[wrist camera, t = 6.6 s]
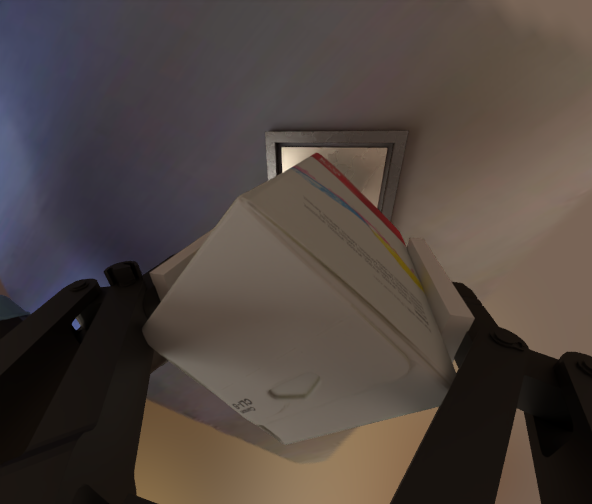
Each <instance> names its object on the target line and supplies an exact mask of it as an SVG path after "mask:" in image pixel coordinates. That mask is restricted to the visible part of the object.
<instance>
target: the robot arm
mask: <svg viewBox="0 0 592 504" xmlns="http://www.w3.org/2000/svg"><path fill="white" fill-rule="evenodd" d="M213 229H214V228H213ZM213 229H212V230H210V231H209V232H208V233H206V234H205V235H203V236H202V237H200V238H199V239H197V240H196V241H195V242H193V243H192V244H190V245H189V246H187V247H186V248H184V249H183V250H182V251H180V252H179V253H177V254H174V255H172V256H170V257H169V258H167V259H166V260H165V261H163V262H161V263H160V264H159V265H157V266H156V267H154V268H153V269H151V270H150V271H148V272H147V273H145V274H144V275H142V274H141V271H140V269H139V266H138V264H137V263H136V262H135V261H125V262H120V263H117V264H114V265H112V266H110V267H108V268H106V269H105V270H104V273H105V276H106V278H107V280H108V282H109V284H110V286H109V287H100V286H99V284H98V282H97V280H95V279H82V280H79V281H75V282H73V283H72V284H70V285H68V286H66V287H65V288H63V289H62V290H61V291H59V292H58V293H57V294H56V295H55V296H53V297H52V298H51V299H50V300H48V301H47V302H46V303H45V304H43V305H42V306H41V307H40V308H38V309H37V310H36V311H35V312H34V313H32V314H30V312H26V311H25V310H23V309H22V308H21V307H20V306H18V305H17V304H16V303H15V302H13V301H12V300H11V299H10V298H8V297H6V296H3V295H0V504H157V503H154V502H151V501H149V500H146V499H143V498H141V497H138V496H136V486H135V480H134V469H135V462H136V456H137V450H138V444H139V438H140V432H141V426H142V420H143V414H144V408H145V402H146V396H147V390H148V384H149V378H150V374H151V373H152V372H153V371H155V370H156V369H157V368H158V367H160V366H162V365H164V364H165V363H167V362H168V360H167V359H166V358H165V357H163V356H161V355H160V354H159V353H158V352H157V351H156V350H154V349H153V348H152V347H151V346H149V345H148V343H147V341H146V339H145V337H144V335H143V332H142V328H143V326H144V325H145V323H146V322H147V320H148V319H149V318H150V316H151V315H152V313H153V312H154V311H155V309H156V308H157V307H158V305H159V304H160V302H161V301H162V300H163V298H164V297H165V295H166V294H167V293H168V291H169V290H170V288H171V287H172V286H173V284H174V283H175V281H176V280H177V279H178V277H179V276H180V274H181V273H182V272H183V270H184V269H185V268H186V266H187V265H188V264H189V262H190V261H191V259H192V258H193V257H194V255H195V254H196V253H197V251H198V250H199V249H200V247H201V246H202V244H203V243H204V242H205V240H206V239H207V237H208V236H209V235H210V233H211V232H212V231H213ZM407 250H408V252H409V255H410V257H411V259H412V262H413V264H414V267H415V269H416V272H417V274H418V277H419V280H420V282H421V284H422V287H423V289H424V292H425V294H426V297H427V300H428V303H429V305H430V307H431V310H432V313H433V315H434V317H435V320H436V322H437V325H438V328H439V331H440V333H441V336H442V338H443V340H444V343H445V345H446V348H447V351H448V353H449V356H450V358H451V360H452V363H453V360H454V359H455V361H456V363H457V366H458V368H459V369H458V371H457V373H456V376H455V378H454V380H453V382H452V384H451V386H450V388H449V390H448V392H447V394H446V396H445V398H444V400H443V401H442V403H441V405H440V406H439V408H438V410H437V412H436V414H435V416H434V418H433V420H432V422H431V424H430V426H429V428H428V430H427V432H426V434H425V436H424V438H423V440H422V442H421V444H420V445H419V447H418V450H417V451H416V453H415V455H414V457H413V459H412V461H411V463H410V465H409V467H408V469H407V471H406V473H405V475H404V477H403V479H402V481H401V483H400V485H399V487H398V489H397V491H396V493H395V494H394V497H393V498H392V501H391V502H390V504H495V499H496V495H497V491H498V487H499V482H500V478H501V474H502V469H503V464H504V461H505V456H506V452H507V447H508V443H509V439H510V435H511V430H512V426H513V421H514V417H515V412H516V408H518V409H520V410H522V411H524V415H525V420H526V426H527V431H528V436H529V441H530V446H531V452H532V457H533V462H534V468H535V473H536V478H537V483H538V488H539V494H540V499H541V504H592V357H591V356H589V355H586V354H582V353H578V352H566V353H565V354H563V355H562V356H561V357H560V359H559V360H558V359H555V358H552V357H549V356H547V355H544V354H541V353H538V352H535V351H532V350H530V349H529V348H528V346H527V345H526V343H525V342H524V341H523V340H522V339H521V338H519V337H518V336H517V335H515V334H514V333H512V332H510V331H508V330H506V329H503V328H500V327H498V325H497V324H496V323H495V321H494V320H493V318H492V317H491V316H490V314H489V313H488V312H487V310H486V309H485V308H484V306H482V303H481V302H480V301H479V300H478V299H477V297H476V295H475V294H474V293H473V291H472V290H471V289H469V288H468V287H467V286H465V285H464V284H463V283H457V282H451V280H450V279H449V277H448V276H447V274H446V273H445V271H444V270H443V268H442V267H441V265H440V263H439V262H438V260H437V259H436V257H435V256H434V254H433V253H432V251H431V250H430V248H429V246H428V245H427V243H426V242H425V240H424V239H420V238H410V239H409V243H408V247H407ZM75 318H76V319H77V321H78V322H79V324H80V325H81V326H80V328H79V329H78V330H75V329H74V327H73V326H72V322H73V321H74V319H75Z"/></svg>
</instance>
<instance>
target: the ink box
mask: <svg viewBox="0 0 592 504" xmlns="http://www.w3.org/2000/svg"><path fill="white" fill-rule="evenodd" d="M142 332H143V335H144V337H145V339H146V341H147V343H148V345H149V346H151V347H152V348H153V349H154V350H156V351H157V352H158V353H159V354H160V355H161V356H163V357H165V358H166V359H167V360H168V361H169V362H171V363H172V364H174V365H175V366H176V367H178V368H179V369H180V370H182V371H183V372H184V373H186V374H187V375H188V376H189V377H191V378H193V379H194V380H195V381H196V382H198V383H199V384H201V385H202V386H204V387H205V388H206V389H208V390H209V391H211V392H212V393H214V394H215V395H217V396H218V397H219V398H220V399H222V400H223V401H224V402H225V403H227V404H228V405H229V406H230V407H231V408H233V409H234V410H235V411H237V412H238V413H239V414H240V415H242V416H243V417H244V418H245V419H247V420H248V421H250V422H252V423H254V424H256V425H257V426H258V427H260V428H261V429H263V430H264V431H265V432H267V433H268V434H270V435H271V436H272V437H274V438H275V439H277V440H278V441H279V442H281V443H282V444H285V445H287V444H292V443H295V442H299V441H303V440H307V439H311V438H315V437H319V436H323V435H327V434H331V433H335V432H338V431H342V430H347V429H351V428H355V427H359V426H363V425H367V424H371V423H375V422H379V421H383V420H387V419H391V418H394V417H398V416H403V415H407V414H410V413H415V412H419V411H423V410H427V409H431V408H435V407H439V406H440V405H441V403H442V401H443V400H444V398H445V396H446V394H447V392H448V390H449V388H450V386H451V384H452V382H453V380H454V378H455V376H456V372H455V369H454V367H453V364H452V360H451V358H450V356H449V353H448V351H447V348H446V345H445V343H444V340H443V338H442V336H441V333H440V331H439V328H438V325H437V322H436V320H435V317H434V315H433V313H432V310H431V307H430V305H429V303H428V300H427V297H426V294H425V292H424V289H423V287H422V284H421V282H420V280H419V277H418V274H417V272H416V269H415V267H414V264H413V262H412V259H411V257H410V255H409V252H408V250H407V248H406V245H405V243H404V240H403V238H402V236H401V234H400V232H399V231H398V230H397V229H396V227H395V226H394V225H393V224H392V223H391V222H390V221H389V220H388V219H387V218H386V217H385V216H384V215H383V214H382V213H381V212H380V211H379V210H378V209H377V208H376V207H375V206H374V205H373V204H372V203H371V202H370V201H369V200H368V199H367V198H366V197H365V196H364V195H363V194H362V193H361V192H360V191H359V190H358V189H357V188H356V187H355V186H354V185H353V184H352V183H351V182H350V181H349V180H348V179H347V178H346V177H345V176H344V175H343V174H342V173H341V172H340V171H339V170H338V169H337V168H336V167H334V166H333V165H332V164H331V163H330V162H329V161H328V160H327V159H325V158H324V157H323V156H322V155H320V154H319V153H315V154H313V155H311V156H310V157H308V158H306V159H304V160H303V161H301V162H300V163H298V164H296V165H295V166H293V167H291V168H290V169H288V170H286V171H285V172H283V173H281V174H279V175H277V176H275V177H274V178H272V179H270V180H268V181H267V182H265V183H263V184H261V185H259V186H257V187H255V188H254V189H252V190H250V191H248V192H246V193H244V194H242V195H240V196H238V198H237V199H236V200H235V201H234V202H233V204H232V205H231V206H230V208H229V209H228V210H227V212H226V213H225V214H224V216H223V217H222V218H221V220H220V221H219V222H218V224H217V225H216V226H215V228H214V229H213V231H212V232H211V233H210V235H209V236H208V237H207V239H206V240H205V242H204V243H203V244H202V246H201V247H200V249H199V250H198V251H197V253H196V254H195V255H194V257H193V258H192V259H191V261H190V262H189V264H188V265H187V266H186V268H185V269H184V270H183V272H182V273H181V274H180V276H179V277H178V279H177V280H176V281H175V283H174V284H173V286H172V287H171V288H170V290H169V291H168V293H167V294H166V295H165V297H164V298H163V300H162V301H161V302H160V304H159V305H158V307H157V308H156V309H155V311H154V312H153V313H152V315H151V316H150V318H149V319H148V320H147V322H146V323H145V325H144V326H143V328H142Z"/></svg>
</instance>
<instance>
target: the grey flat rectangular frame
mask: <svg viewBox="0 0 592 504" xmlns="http://www.w3.org/2000/svg"><path fill="white" fill-rule="evenodd" d="M408 132H409V131H306V132H265V138H266V154H267V170H268V180H270V179H272V178H274V177H275V176H277V175H279V168H278V143H277V142H297V143H393V148H392V153H391V159H390V164H389V170H388V176H387V181H386V187H385V192H384V198H383V204H382V209H381V213H382V214H383V215H384V216H385V217H386V218H387V219H388V220H389V221H391V216H392V211H393V206H394V201H395V196H396V191H397V186H398V181H399V176H400V171H401V166H402V162H403V157H404V152H405V147H406V142H407V137H408ZM315 153H319V154H320V155H322V156H323V157H324V158H325V159H327V160H328V161H329V162H330V163H331V164H332V165H333V166H334V167H336V168H337V169H338V170H339V171H340V172H341V173H342V174H343V175H344V176H345V177H346V178H347V179H348V180H349V181H350V182H351V183H352V184H353V185H354V186H355V187H356V188H357V189H358V190H359V191H360V192H361V193H362V194H363V195H364V196H365V197H366V198H367V199H368V200H369V201H370V202H371V203H372V204H373V205H374V206H375V207H376V208H377V207H378V201H379V195H380V189H381V183H382V177H383V171H384V166H385V160H386V154H387V148H341V147H282V173H283V172H285V171H286V170H288V169H290V168H291V167H293V166H295V165H296V164H298V163H300V162H301V161H303V160H304V159H306V158H308V157H310V156H311V155H313V154H315Z"/></svg>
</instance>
